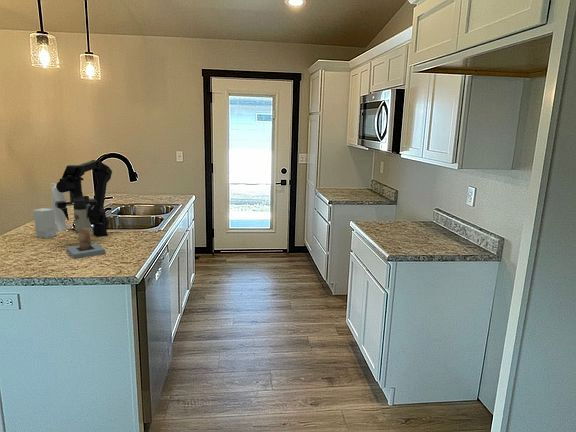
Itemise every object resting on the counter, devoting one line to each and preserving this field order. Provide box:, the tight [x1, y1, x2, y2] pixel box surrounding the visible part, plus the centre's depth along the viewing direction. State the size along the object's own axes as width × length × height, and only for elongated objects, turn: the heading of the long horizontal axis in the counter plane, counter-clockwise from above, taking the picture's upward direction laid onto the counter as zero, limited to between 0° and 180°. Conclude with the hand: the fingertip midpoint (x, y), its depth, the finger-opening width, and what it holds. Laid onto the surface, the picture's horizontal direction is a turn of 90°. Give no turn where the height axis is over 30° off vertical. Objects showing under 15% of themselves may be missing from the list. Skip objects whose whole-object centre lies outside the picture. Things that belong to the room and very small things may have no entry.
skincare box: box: [32, 207, 58, 239], centre depth 223 cm, size 8×7×16 cm
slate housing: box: [65, 242, 106, 260], centre depth 198 cm, size 14×14×2 cm
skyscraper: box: [49, 183, 69, 232], centre depth 238 cm, size 8×7×28 cm
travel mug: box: [72, 204, 91, 232], centre depth 239 cm, size 8×8×18 cm
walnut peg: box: [77, 227, 92, 251], centre depth 198 cm, size 5×5×12 cm
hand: (77, 219), depth 211 cm, fingers open, 9 cm apart
